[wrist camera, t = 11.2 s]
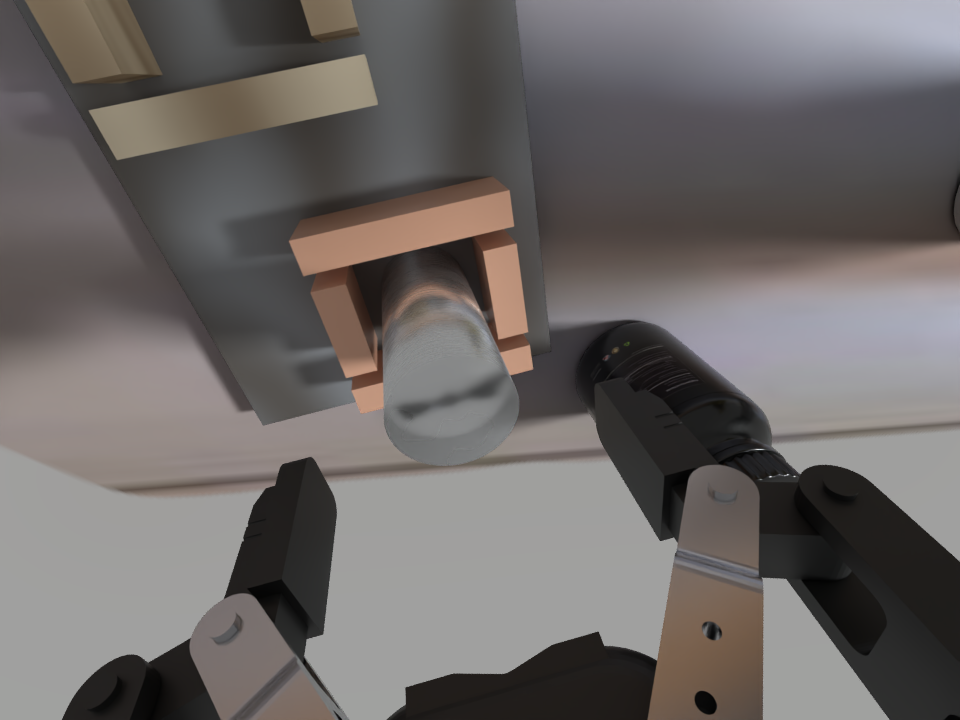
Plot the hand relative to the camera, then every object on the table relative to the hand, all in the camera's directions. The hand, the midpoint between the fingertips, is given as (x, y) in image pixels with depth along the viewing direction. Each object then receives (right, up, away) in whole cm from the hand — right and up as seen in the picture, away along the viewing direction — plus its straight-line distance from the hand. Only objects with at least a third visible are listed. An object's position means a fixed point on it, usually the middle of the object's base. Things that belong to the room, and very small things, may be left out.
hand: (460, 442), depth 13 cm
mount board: (-5, +11, +7) cm, 14 cm away
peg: (-2, +6, +9) cm, 11 cm away
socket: (-2, +6, +9) cm, 11 cm away
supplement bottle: (+10, +2, +16) cm, 19 cm away
